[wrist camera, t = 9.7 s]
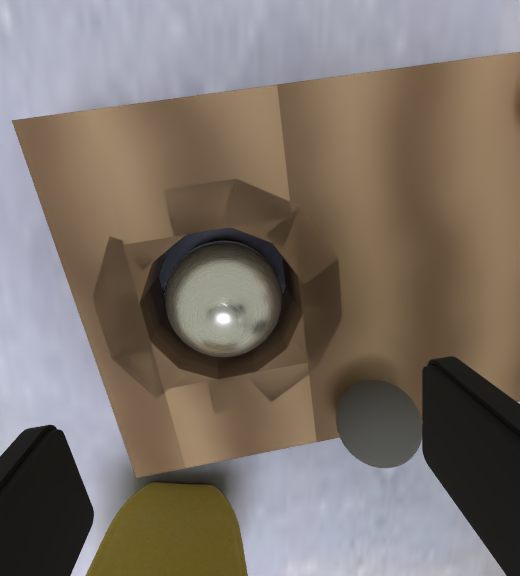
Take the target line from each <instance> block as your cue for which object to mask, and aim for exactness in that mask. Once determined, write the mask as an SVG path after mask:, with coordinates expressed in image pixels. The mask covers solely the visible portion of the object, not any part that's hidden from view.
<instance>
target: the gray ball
mask: <svg viewBox="0 0 520 576" xmlns="http://www.w3.org/2000/svg"><path fill="white" fill-rule="evenodd" d="M336 425H337V430H338V433H339V436H340V438H341V440H342V442H343V444H344V445H345V447H346V448H347V449H348V451H349V452H350V453H351V454H352V455H353V456H355V457H356V458H357V459H359V460H360V461H362V462H363V463H365V464H368V465H370V466H373V467H379V468H391V467H396V466H399V465H401V464H403V463H405V462H407V461H408V460H409V459H410V458H412V456H413V455H414V454H415V453H416V451H417V450H418V448H419V445H420V443H421V439H422V420H421V416H420V413H419V411H418V409H417V407H416V405H415V403H414V402H413V400H412V399H411V398H410V397H409V396H408V395H407V394H406V393H405V392H404V391H403V390H402V389H400V388H399V387H397V386H395V385H393V384H391V383H389V382H385V381H381V380H366V381H362V382H359V383H357V384H355V385H353V386H352V387H350V388H349V389H348V390H347V391H346V392H345V393H344V394H343V396H342V397H341V399H340V401H339V403H338V406H337V411H336Z"/></svg>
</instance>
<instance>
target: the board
mask: <svg viewBox="0 0 520 576" xmlns="http://www.w3.org/2000/svg"><path fill="white" fill-rule="evenodd" d="M12 123H13V125H14V128H15V131H16V134H17V137H18V140H19V143H20V145H21V148H22V151H23V154H24V157H25V160H26V163H27V166H28V168H29V171H30V174H31V177H32V180H33V183H34V186H35V188H36V191H37V194H38V197H39V200H40V203H41V206H42V209H43V211H44V214H45V217H46V220H47V223H48V226H49V229H50V232H51V234H52V237H53V240H54V243H55V246H56V249H57V252H58V254H59V257H60V260H61V263H62V266H63V269H64V272H65V275H66V277H67V280H68V283H69V286H70V289H71V292H72V295H73V297H74V300H75V303H76V306H77V309H78V312H79V315H80V318H81V320H82V323H83V326H84V329H85V332H86V335H87V338H88V340H89V343H90V346H91V349H92V352H93V355H94V358H95V361H96V363H97V366H98V369H99V372H100V375H101V378H102V381H103V384H104V386H105V389H106V392H107V395H108V398H109V401H110V404H111V406H112V409H113V412H114V415H115V418H116V421H117V424H118V427H119V429H120V432H121V435H122V438H123V441H124V444H125V447H126V449H127V452H128V455H129V458H130V461H131V464H132V467H133V470H134V472H135V475H136V478H140V477H145V476H150V475H155V474H160V473H165V472H170V471H175V470H179V469H184V468H189V467H194V466H199V465H204V464H209V463H214V462H219V461H224V460H229V459H234V458H239V457H244V456H249V455H254V454H259V453H264V452H269V451H274V450H279V449H284V448H289V447H294V446H299V445H304V444H309V443H314V442H319V441H324V440H329V439H334V438H339V437H340V436H339V433H338V430H337V425H336V411H337V406H338V403H339V401H340V399H341V397H342V396H343V394H344V393H345V392H346V391H347V390H348V389H349V388H350V387H352V386H353V385H355V384H357V383H359V382H362V381H366V380H381V381H385V382H389V383H391V384H393V385H395V386H397V387H399V388H400V389H402V390H403V391H404V392H405V393H406V394H407V395H408V396H409V397H410V398H411V399H412V400H413V402H414V403H415V405H416V407H417V409H418V411H419V413H420V416H421V420H422V370H423V367H425V366H427V365H428V362H429V361H430V360H431V359H437V358H443V357H449V356H454V357H456V358H458V359H459V360H460V361H462V362H463V363H465V364H466V365H467V366H469V367H470V368H471V369H473V370H474V371H475V372H477V373H478V374H480V375H481V376H482V377H484V378H485V379H486V380H488V381H489V382H490V383H492V384H493V385H495V386H496V387H497V388H499V389H500V390H501V391H503V392H504V393H505V394H507V395H508V396H509V397H511V398H512V399H514V400H515V401H516V402H519V401H520V52H516V53H508V54H501V55H494V56H486V57H479V58H471V59H464V60H457V61H449V62H442V63H434V64H427V65H420V66H412V67H405V68H397V69H390V70H382V71H375V72H368V73H360V74H353V75H345V76H338V77H331V78H323V79H316V80H308V81H301V82H293V83H286V84H279V85H271V86H264V87H256V88H249V89H242V90H234V91H227V92H219V93H212V94H204V95H197V96H190V97H182V98H175V99H167V100H160V101H153V102H145V103H138V104H130V105H123V106H116V107H108V108H101V109H93V110H86V111H78V112H71V113H64V114H56V115H49V116H41V117H34V118H27V119H19V120H12ZM225 228H234V229H237V230H239V231H242V232H244V233H247V234H250V235H252V236H255V237H257V238H260V239H263V240H265V241H268V242H270V243H272V244H273V245H274V247H275V248H276V249H277V250H278V252H279V253H280V254H281V256H282V260H283V268H284V276H285V284H286V288H285V291H284V293H283V295H282V307H281V312H280V316H279V319H278V322H277V324H276V326H275V328H274V329H273V331H272V332H271V334H270V335H269V336H268V337H267V338H266V340H265V341H264V342H262V343H261V344H260V345H259V346H257V347H256V348H254V349H253V350H251V351H249V352H247V353H244V354H241V355H238V356H233V357H213V356H209V355H205V354H203V353H200V352H198V351H196V350H194V349H192V348H191V347H190V346H188V345H187V344H186V343H184V342H183V341H182V340H181V339H180V338H179V336H178V335H177V334H176V333H175V331H174V330H173V328H172V326H171V324H170V322H169V319H168V316H167V313H166V307H165V301H164V297H163V294H162V290H161V286H160V282H159V278H158V276H159V273H160V270H161V267H162V264H163V260H164V257H165V254H166V251H167V250H168V249H169V248H171V247H172V246H173V245H174V244H175V243H177V242H178V241H179V240H180V239H181V238H183V237H184V236H185V235H187V234H193V233H200V232H206V231H212V230H218V229H225Z"/></svg>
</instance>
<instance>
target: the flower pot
mask: <svg viewBox="0 0 520 576" xmlns="http://www.w3.org/2000/svg"><path fill="white" fill-rule="evenodd" d="M86 576H248V574H247V568H246V562H245V556H244V550H243V544H242V538H241V533H240V528H239V524H238V521H237V518H236V515H235V513H234V511H233V509H232V507H231V505H230V503H229V501H228V500H227V498H226V497H225V496H224V495H223V494H222V493H221V491H220V490H219V489H218V488H217V487H215V486H213V485H199V484H176V483H158V482H154V483H149V484H147V485H146V486H144V487H143V488H141V489H140V490H139V491H137V492H136V493H135V494H134V495H133V496H132V497H131V498H130V499H129V500H128V501H127V502H126V503H125V504H124V505H123V507H122V508H121V509H120V511H119V512H118V513H117V515H116V516H115V518H114V519H113V521H112V523H111V525H110V526H109V528H108V530H107V532H106V534H105V536H104V538H103V540H102V542H101V544H100V547H99V549H98V551H97V553H96V555H95V557H94V559H93V561H92V563H91V566H90V568H89V570H88V572H87V574H86Z"/></svg>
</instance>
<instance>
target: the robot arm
mask: <svg viewBox="0 0 520 576" xmlns="http://www.w3.org/2000/svg"><path fill="white" fill-rule="evenodd" d="M422 449H423V455H424V458H425V460H426V462H427V464H428V466H429V467H430V469H431V470H432V471H433V473H434V474H435V476H436V477H437V478H438V480H439V481H440V483H441V484H442V485H443V487H444V488H445V490H446V491H447V492H448V494H449V495H450V497H451V498H452V499H453V501H454V502H455V504H456V505H457V506H458V508H459V509H460V511H461V512H462V513H463V515H464V516H465V518H466V519H467V520H468V522H469V523H470V525H471V526H472V527H473V529H474V530H475V532H476V533H477V534H478V536H479V537H480V539H481V540H482V541H483V543H484V544H485V546H486V547H487V548H488V550H489V551H490V553H491V554H492V555H493V557H494V558H495V560H496V561H497V562H498V564H499V565H500V567H501V568H502V569H503V571H504V572H505V574H506V575H507V576H520V404H519V403H518V402H516V401H515V400H514V399H512V398H511V397H509V396H508V395H507V394H505V393H504V392H503V391H501V390H500V389H499V388H497V387H496V386H495V385H493V384H492V383H490V382H489V381H488V380H486V379H485V378H484V377H482V376H481V375H480V374H478V373H477V372H475V371H474V370H473V369H471V368H470V367H469V366H467V365H466V364H465V363H463V362H462V361H460V360H459V359H458V358H456V357H454V356H449V357H443V358H437V359H431V360H430V361H429V362H428V365H427V366H425V367H423V370H422ZM93 518H94V511H93V507H92V505H91V502H90V499H89V497H88V494H87V492H86V489H85V487H84V484H83V481H82V479H81V476H80V474H79V471H78V468H77V466H76V463H75V461H74V458H73V456H72V453H71V450H70V448H69V445H68V443H67V440H66V438H65V435H64V433H63V431H61V430H57V428H56V427H55V426H54V425H46V426H41V427H35V428H29V429H26V430H24V431H23V432H22V433H21V434H20V435H19V436H18V437H17V438H16V440H15V441H14V442H13V443H12V444H11V445H10V446H9V447H8V448H7V450H6V451H5V452H4V453H3V454H2V455H1V456H0V576H70V575H71V573H72V570H73V568H74V566H75V564H76V561H77V559H78V557H79V554H80V552H81V550H82V547H83V545H84V543H85V540H86V538H87V536H88V534H89V531H90V529H91V526H92V524H93Z"/></svg>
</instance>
